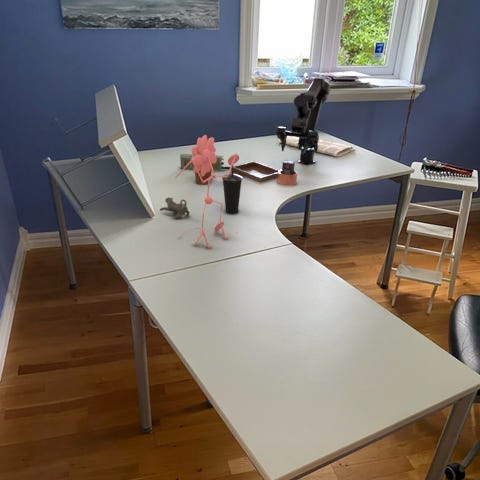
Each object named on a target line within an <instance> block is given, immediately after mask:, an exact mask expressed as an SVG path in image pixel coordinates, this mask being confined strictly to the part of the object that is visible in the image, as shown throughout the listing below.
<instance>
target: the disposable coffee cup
mask: <svg viewBox="0 0 480 480" xmlns="http://www.w3.org/2000/svg"><path fill="white" fill-rule="evenodd" d="M192 158H193V155H192ZM211 165H212V163H211ZM200 172H201V170H200V171H199V173H200ZM200 175H201V174H200ZM211 176H212V170H211V169H210V172H206V174H205V175H204V176H203V177H202V176H201V177H202V179H203V181H204V180H206V179H207V178H209V177H211ZM194 178H195V183H196V184H198V185H208V181H206V182H205V183H202V181H201V179H200V177H199V175H198V173H197V172H196V173H194Z"/></svg>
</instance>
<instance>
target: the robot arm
mask: <svg viewBox="0 0 480 480" xmlns="http://www.w3.org/2000/svg"><path fill="white" fill-rule="evenodd" d="M330 93H331V85H330V83H328V82H327V81H325V78H322V77H321V78H320V77H314V78H312V83H311V84H310V85H309V87H308V88H307V90H306V91H303V92H300V94H299V95H297V96H295V98H294V99H293V104H294V109H295V112H296V116H295V117H291V118H290V123H289V126H290V130H287V127H286V126H285V127H284V126H277V127H276V129H275V134H276V137H277V139H278V140H279V139H280V140H281V143H280V145H281V152H284V150H285V147H286V145H287V144H286V138H287V136H293V137H299V141H298V147H297V148H298V151H300V155H299V160H297V162H298V163H300V164H302V165H303V164H304V165H306V166H307V165H312V164H314V163H316V161H315V160H314V155H315V152H316V151H318V141H319V139H320V136H319V132H318V131H317V130H316V129H317V125H318V121H319V118H320V114H321V109H322V106H323V104H324V103H325V102H326V100H328V96H329V95H330Z"/></svg>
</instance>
